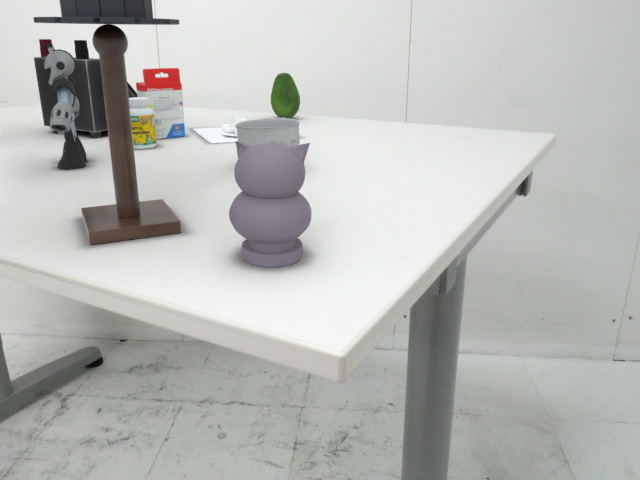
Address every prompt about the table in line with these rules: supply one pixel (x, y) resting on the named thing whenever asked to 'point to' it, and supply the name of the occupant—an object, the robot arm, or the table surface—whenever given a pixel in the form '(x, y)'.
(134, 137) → the supplement bottle
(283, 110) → the fruit
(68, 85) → the robot
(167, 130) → the ink box
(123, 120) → the stand
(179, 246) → the table surface
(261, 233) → the cat figurine
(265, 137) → the teacup
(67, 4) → the hat
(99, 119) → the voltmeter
